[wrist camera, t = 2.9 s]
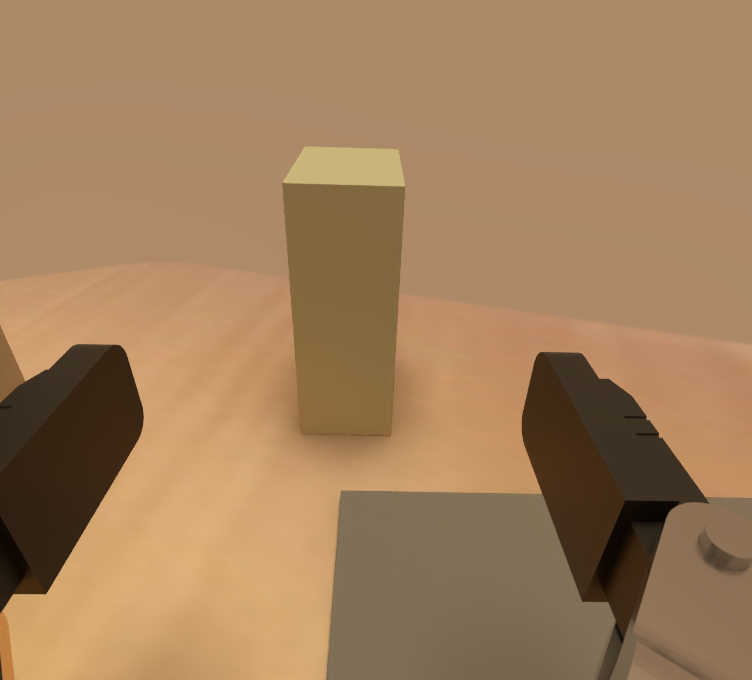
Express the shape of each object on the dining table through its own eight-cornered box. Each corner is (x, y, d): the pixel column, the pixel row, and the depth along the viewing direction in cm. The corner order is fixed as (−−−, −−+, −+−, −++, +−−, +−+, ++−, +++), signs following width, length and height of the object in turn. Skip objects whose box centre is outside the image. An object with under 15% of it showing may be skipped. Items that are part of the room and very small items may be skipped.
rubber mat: (306, 956, 9) (305, 953, 9) (341, 497, 19) (340, 490, 18) (1113, 960, 10) (1130, 956, 9) (751, 505, 19) (755, 498, 19)
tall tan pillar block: (301, 433, 22) (282, 183, 16) (315, 357, 27) (305, 146, 21) (390, 435, 22) (405, 186, 16) (387, 359, 27) (398, 149, 21)
